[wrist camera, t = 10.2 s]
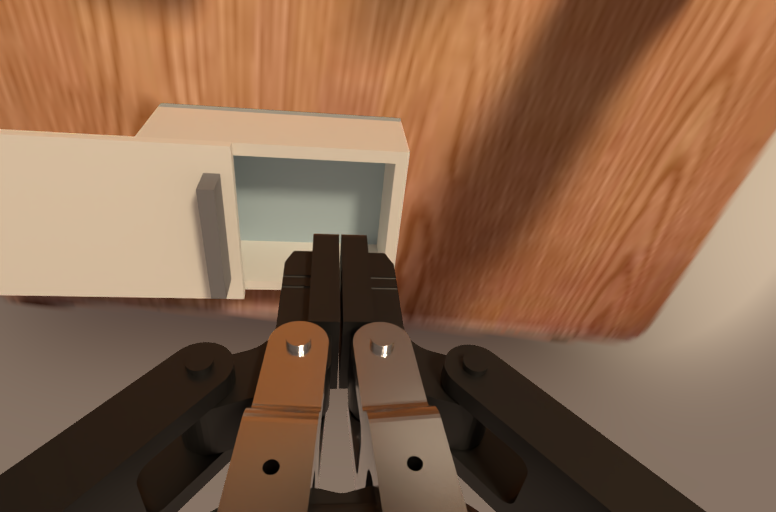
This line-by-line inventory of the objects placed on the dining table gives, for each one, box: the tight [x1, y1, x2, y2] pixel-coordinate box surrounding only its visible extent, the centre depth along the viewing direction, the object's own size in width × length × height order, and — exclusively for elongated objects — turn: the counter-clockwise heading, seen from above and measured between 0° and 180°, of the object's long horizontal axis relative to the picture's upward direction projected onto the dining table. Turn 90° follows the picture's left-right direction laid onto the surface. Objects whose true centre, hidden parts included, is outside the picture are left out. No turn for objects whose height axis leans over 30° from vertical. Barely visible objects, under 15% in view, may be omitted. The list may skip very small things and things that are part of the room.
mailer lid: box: [0, 129, 245, 299], centre depth 38 cm, size 20×14×3 cm
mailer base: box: [135, 103, 410, 290], centre depth 44 cm, size 20×14×7 cm
